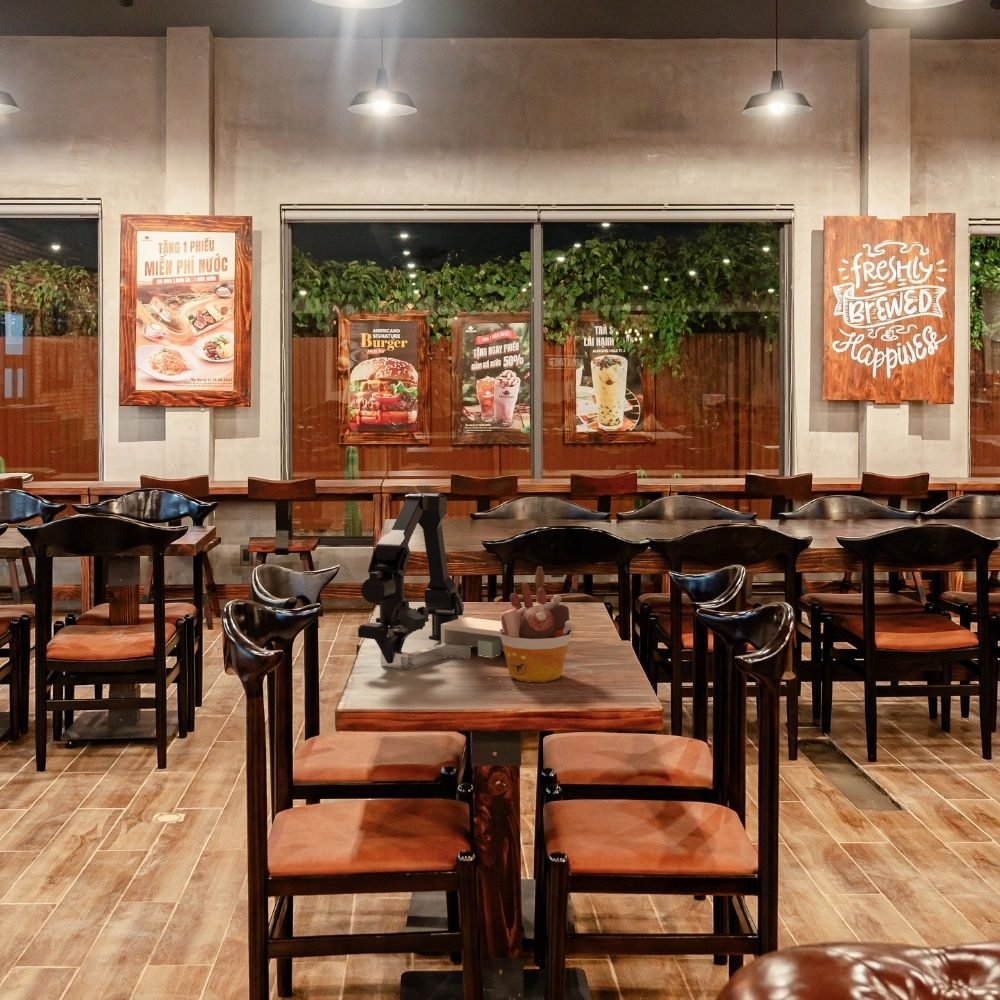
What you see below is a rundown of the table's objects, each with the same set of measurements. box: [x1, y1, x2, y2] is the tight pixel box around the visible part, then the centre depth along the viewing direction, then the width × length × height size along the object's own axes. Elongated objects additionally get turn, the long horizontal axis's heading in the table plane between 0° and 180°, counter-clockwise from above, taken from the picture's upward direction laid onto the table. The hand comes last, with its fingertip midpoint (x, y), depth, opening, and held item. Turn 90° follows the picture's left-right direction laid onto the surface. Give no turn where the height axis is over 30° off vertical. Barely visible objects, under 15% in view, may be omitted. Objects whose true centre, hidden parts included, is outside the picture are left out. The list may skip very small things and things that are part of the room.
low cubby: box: [440, 616, 504, 650], centre depth 280 cm, size 20×10×7 cm, turn 58°
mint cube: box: [477, 637, 502, 657], centre depth 278 cm, size 4×4×4 cm
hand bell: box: [533, 566, 545, 607], centre depth 316 cm, size 8×8×16 cm
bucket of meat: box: [500, 582, 577, 682], centre depth 256 cm, size 20×16×20 cm
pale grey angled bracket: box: [380, 642, 472, 671], centre depth 272 cm, size 13×18×4 cm
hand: (392, 662), depth 267 cm, fingers closed on pale grey angled bracket, 2 cm apart
